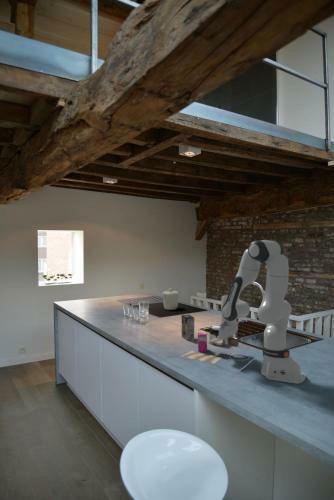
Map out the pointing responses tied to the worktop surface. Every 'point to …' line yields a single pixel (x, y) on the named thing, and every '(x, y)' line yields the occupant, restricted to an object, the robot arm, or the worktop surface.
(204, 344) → the supplement box
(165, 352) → the worktop surface
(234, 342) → the paddle
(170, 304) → the canister
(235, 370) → the worktop surface
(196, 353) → the board
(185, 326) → the coffee box
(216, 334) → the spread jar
